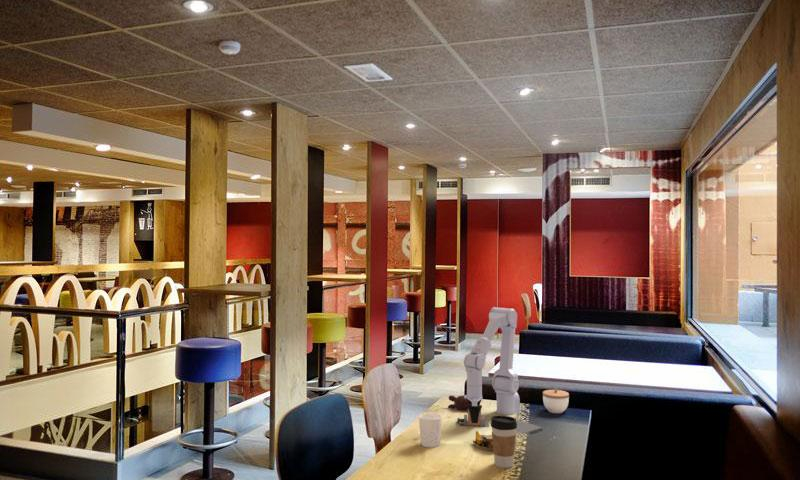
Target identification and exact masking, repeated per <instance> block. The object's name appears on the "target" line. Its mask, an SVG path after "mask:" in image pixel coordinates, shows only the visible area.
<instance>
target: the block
mask: <svg viewBox="0 0 800 480" xmlns="http://www.w3.org/2000/svg"><path fill="white" fill-rule="evenodd" d="M467 421H468V425H481V421H482V409H481V410H480V413H479V417H478V422H477V423H472V422H471V416H470V412H469V409H467Z"/></svg>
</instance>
